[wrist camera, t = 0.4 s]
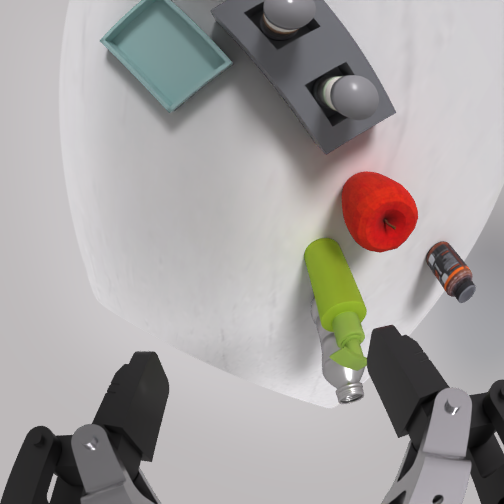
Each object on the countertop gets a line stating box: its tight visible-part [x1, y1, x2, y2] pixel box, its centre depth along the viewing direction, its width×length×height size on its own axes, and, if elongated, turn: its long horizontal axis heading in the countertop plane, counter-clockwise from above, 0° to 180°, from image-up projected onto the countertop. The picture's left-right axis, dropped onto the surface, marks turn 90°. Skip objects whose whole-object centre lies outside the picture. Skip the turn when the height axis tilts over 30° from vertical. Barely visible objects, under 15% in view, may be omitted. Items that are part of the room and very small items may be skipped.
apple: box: [342, 172, 418, 253], centre depth 31 cm, size 9×9×11 cm
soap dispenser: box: [304, 238, 367, 371], centre depth 33 cm, size 6×7×20 cm
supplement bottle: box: [427, 242, 476, 303], centre depth 37 cm, size 6×6×11 cm
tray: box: [100, 0, 233, 113], centre depth 23 cm, size 14×9×2 cm, turn 37°
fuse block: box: [211, 0, 396, 154], centre depth 21 cm, size 20×10×10 cm, turn 37°
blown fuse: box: [260, 0, 316, 41], centre depth 18 cm, size 4×4×9 cm
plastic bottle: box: [311, 298, 365, 404], centre depth 39 cm, size 6×7×20 cm
